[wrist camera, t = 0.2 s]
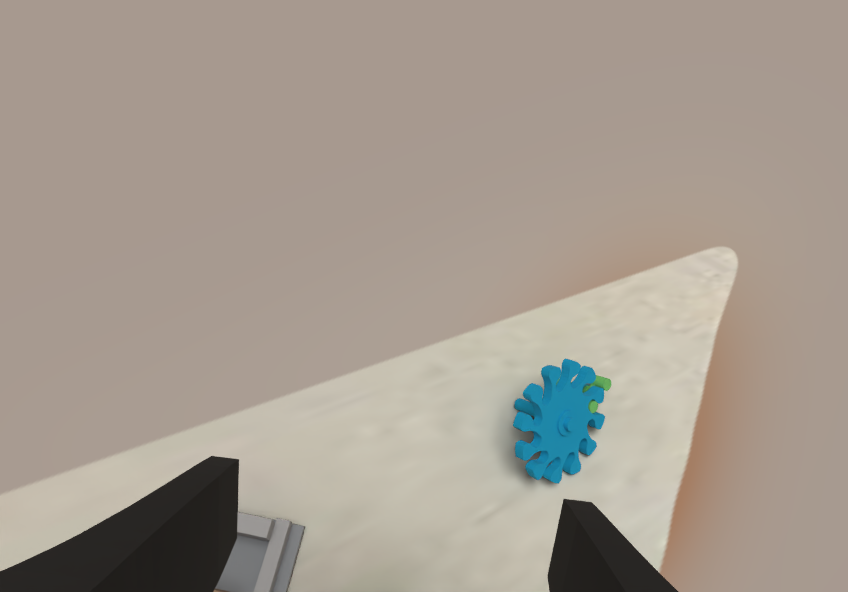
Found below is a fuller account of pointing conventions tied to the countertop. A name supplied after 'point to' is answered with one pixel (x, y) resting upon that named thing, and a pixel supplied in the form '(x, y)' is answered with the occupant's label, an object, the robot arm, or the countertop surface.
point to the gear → (560, 419)
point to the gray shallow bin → (261, 555)
